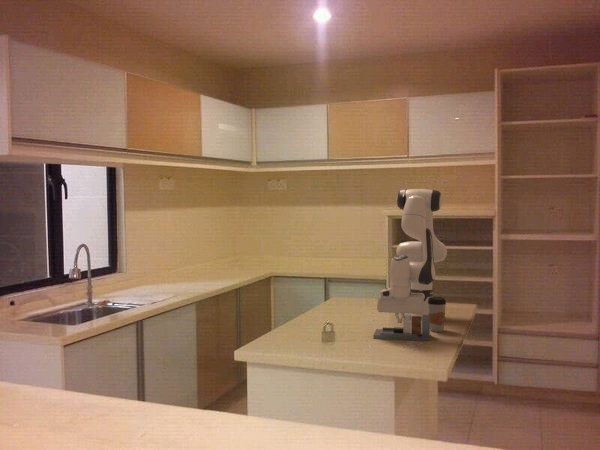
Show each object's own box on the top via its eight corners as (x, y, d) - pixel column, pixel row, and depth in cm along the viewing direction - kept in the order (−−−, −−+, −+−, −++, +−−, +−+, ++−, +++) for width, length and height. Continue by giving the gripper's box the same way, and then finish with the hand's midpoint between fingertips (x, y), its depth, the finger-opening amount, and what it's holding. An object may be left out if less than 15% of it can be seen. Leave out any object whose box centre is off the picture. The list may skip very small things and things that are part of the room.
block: (412, 332, 259) (412, 315, 259) (421, 333, 258) (421, 316, 258) (411, 334, 255) (411, 317, 255) (421, 335, 254) (421, 318, 254)
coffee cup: (433, 332, 265) (433, 300, 264) (424, 329, 273) (424, 297, 272) (449, 331, 267) (449, 299, 266) (440, 327, 275) (440, 296, 274)
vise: (376, 332, 267) (376, 312, 267) (429, 334, 261) (429, 314, 261) (373, 338, 255) (373, 317, 255) (429, 341, 250) (429, 319, 249)
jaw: (394, 330, 263) (394, 313, 263) (412, 330, 261) (412, 314, 261) (393, 334, 255) (392, 317, 255) (411, 335, 253) (411, 318, 253)
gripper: (424, 291, 258) (424, 322, 259) (378, 290, 263) (378, 320, 264) (423, 293, 252) (423, 325, 253) (376, 292, 257) (376, 323, 258)
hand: (400, 322), depth 258 cm, fingers closed
